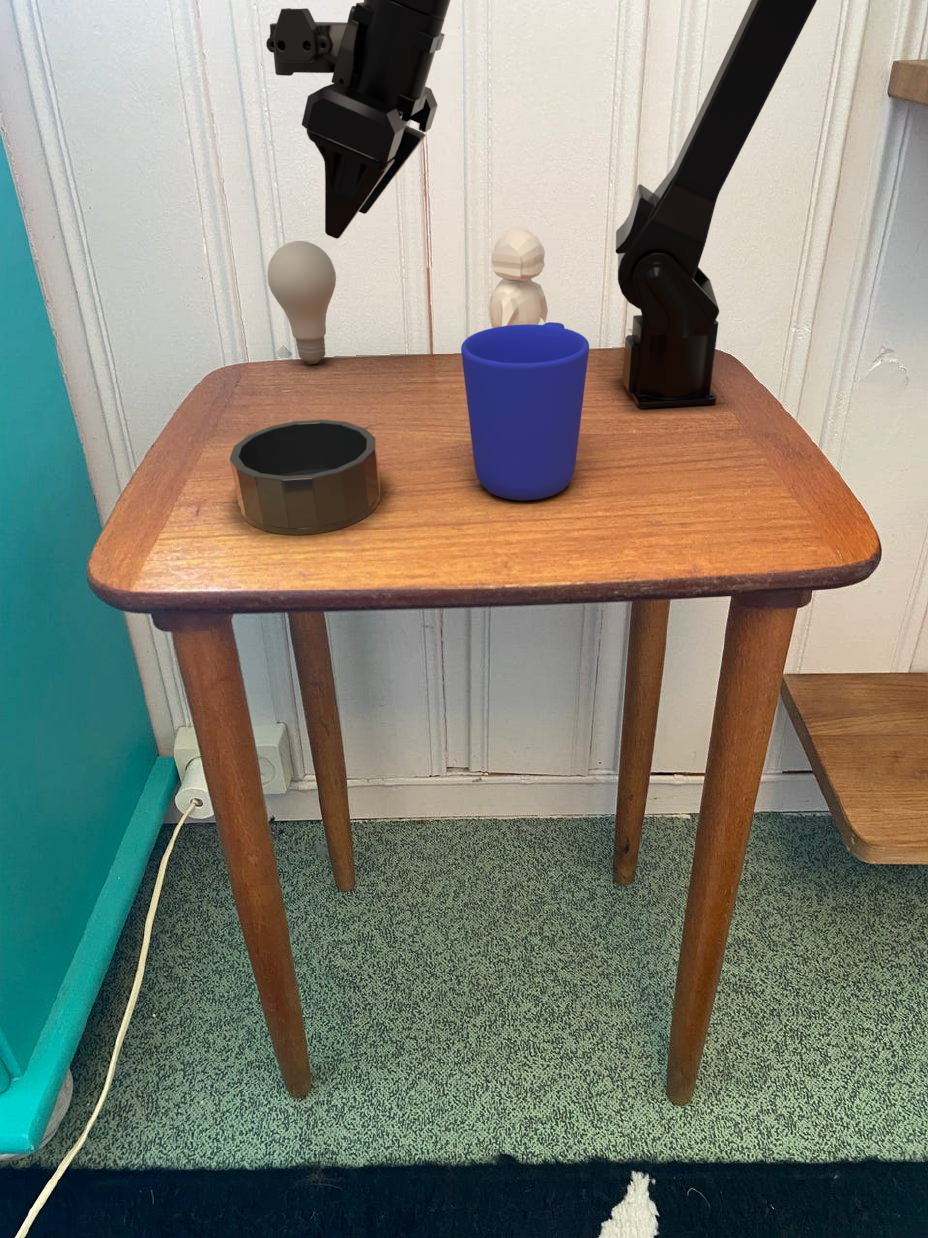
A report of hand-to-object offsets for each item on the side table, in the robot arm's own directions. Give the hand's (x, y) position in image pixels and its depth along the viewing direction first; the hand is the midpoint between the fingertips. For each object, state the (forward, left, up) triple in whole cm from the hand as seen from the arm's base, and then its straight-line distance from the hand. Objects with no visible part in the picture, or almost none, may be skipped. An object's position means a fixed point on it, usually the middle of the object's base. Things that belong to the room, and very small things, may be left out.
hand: (346, 223), depth 73 cm
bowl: (+3, +21, -14) cm, 26 cm away
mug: (-13, +19, -14) cm, 27 cm away
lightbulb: (+5, -8, -14) cm, 17 cm away
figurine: (-14, -4, -14) cm, 20 cm away
